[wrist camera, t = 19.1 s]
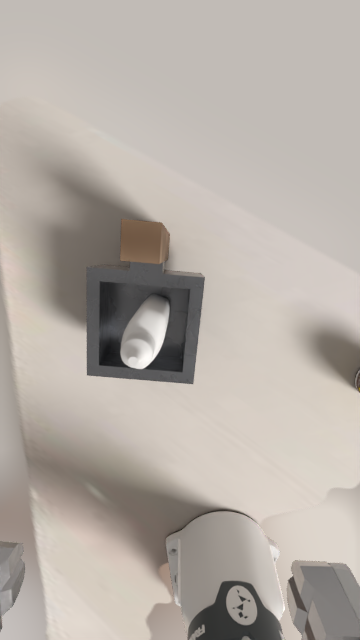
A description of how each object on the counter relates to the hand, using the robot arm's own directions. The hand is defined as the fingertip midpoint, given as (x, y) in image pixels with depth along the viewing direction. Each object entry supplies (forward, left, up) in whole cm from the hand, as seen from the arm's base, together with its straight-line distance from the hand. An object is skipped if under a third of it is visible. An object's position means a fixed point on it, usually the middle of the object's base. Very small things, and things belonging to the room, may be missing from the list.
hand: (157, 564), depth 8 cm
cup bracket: (+4, +3, -28) cm, 28 cm away
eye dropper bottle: (+2, +3, -23) cm, 23 cm away
